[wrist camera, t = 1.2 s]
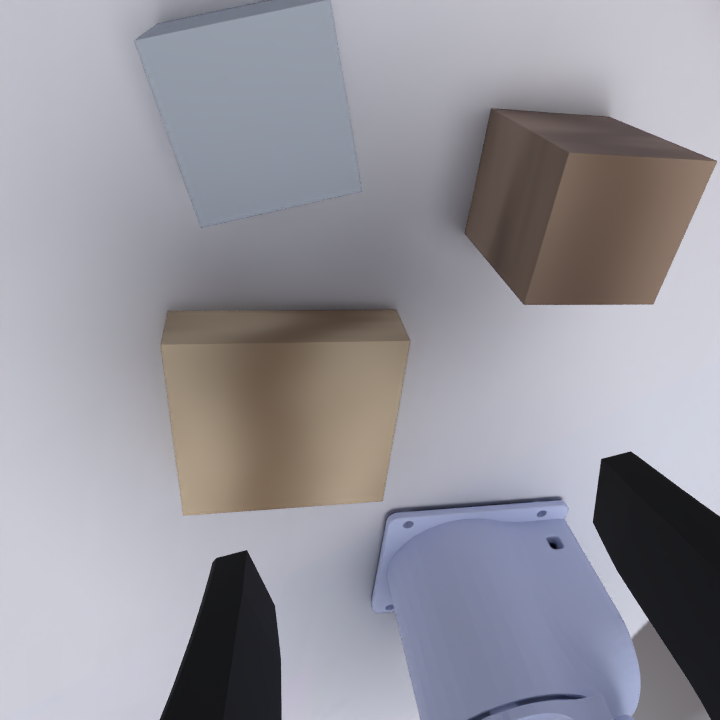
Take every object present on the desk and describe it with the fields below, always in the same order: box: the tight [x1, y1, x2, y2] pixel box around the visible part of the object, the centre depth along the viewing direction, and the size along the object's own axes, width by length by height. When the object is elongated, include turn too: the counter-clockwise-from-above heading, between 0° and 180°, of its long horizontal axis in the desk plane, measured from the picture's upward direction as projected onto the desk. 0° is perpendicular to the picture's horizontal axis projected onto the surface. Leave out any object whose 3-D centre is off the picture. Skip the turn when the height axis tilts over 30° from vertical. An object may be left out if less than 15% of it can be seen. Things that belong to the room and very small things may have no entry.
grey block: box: [134, 0, 362, 228], centre depth 14 cm, size 4×4×4 cm
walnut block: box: [465, 108, 717, 305], centre depth 16 cm, size 4×4×5 cm
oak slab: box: [161, 310, 410, 516], centre depth 21 cm, size 8×8×2 cm
